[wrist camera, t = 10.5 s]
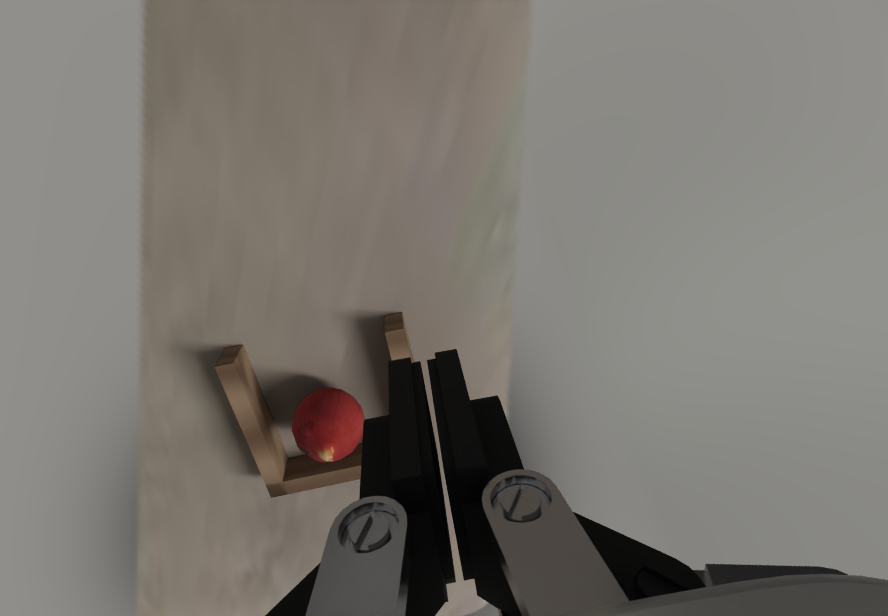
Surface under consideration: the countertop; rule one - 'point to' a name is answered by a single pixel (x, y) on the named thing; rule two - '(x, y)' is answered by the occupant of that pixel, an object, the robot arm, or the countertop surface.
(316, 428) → the onion
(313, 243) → the countertop surface
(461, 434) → the robot arm
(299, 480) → the corral
